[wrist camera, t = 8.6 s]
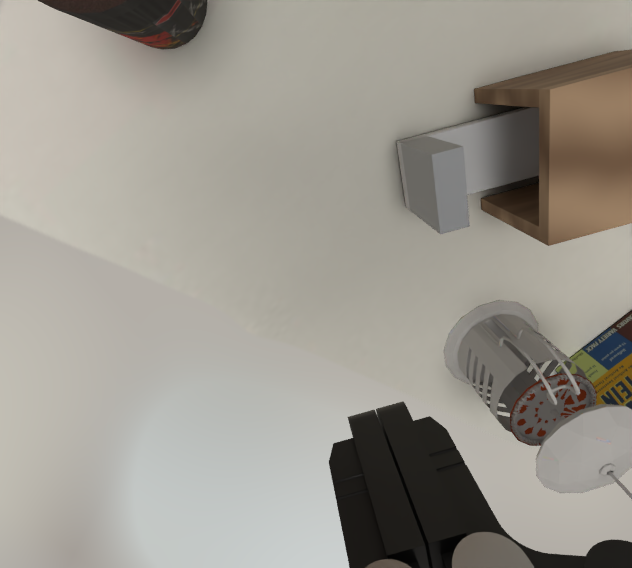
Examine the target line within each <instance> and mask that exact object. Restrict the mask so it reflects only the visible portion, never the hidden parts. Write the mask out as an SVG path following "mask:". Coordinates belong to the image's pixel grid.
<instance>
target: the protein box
mask: <svg viewBox="0 0 632 568" xmlns="http://www.w3.org/2000/svg"><path fill="white" fill-rule="evenodd" d="M570 359H571V360H572V361H573V362H574V363H575V364H576V365H578V366H579V367H580V368H581V369H582V370H583V371H584V373H585V375H586V377H587V379H588V380H590V381H591V382H592V384H593V386H594V388H595V390H596V391H597V398H596V405H599V404H610V405H622V406H626V407H628V408H630V409H632V311H631V312H629V313H628V314H627V315H626V316H624V317H623V318H622V319H621V320H619V321H618V322H616V323H615V324H614V325H613V326H611V327H610V328H609V329H607V330H606V331H605V332H603V333H602V334H601V335H600V336H598V337H597V338H596V339H594V340H593V341H592V342H590V343H589V344H588V345H587V346H585V347H584V348H583V349H581V350H580V351H579V352H577V353H576V354H575V355H574V356H572V357H571V358H570ZM566 362H567V361H566ZM566 362H565V363H566ZM565 363H564V365H565ZM574 363H572V362H571V364H572V367H571V368H570V370H569V372H570V373H571V374H575V373H576V372H577V369H576V366H575V364H574ZM561 369H562V366H559V367H558V368H557V369H556V372H557V373H558V372H559V371H560V370H561Z"/></svg>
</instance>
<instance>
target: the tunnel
mask: <svg viewBox="0 0 632 568" xmlns="http://www.w3.org/2000/svg"><path fill="white" fill-rule="evenodd" d="M474 95H475V103H481V104H495V105H509V106H523V107H536V108H539V183H536V184H532V185H528V186H525V187H521V188H517V189H514V190H510V191H506V192H503V193H499V194H495V195H492V196H488V197H484V198H481V208H482V210H483V211H485V212H487V213H488V214H490V215H492V216H494V217H496V218H498V219H500V220H501V221H503V222H505V223H507V224H509V225H511V226H513V227H514V228H516V229H518V230H520V231H522V232H524V233H526V234H527V235H529V236H531V237H533V238H535V239H537V240H539V241H541V242H542V243H544V244H546V245H548V246H549V245H553V244H557V243H560V242H564V241H568V240H571V239H575V238H579V237H582V236H586V235H589V234H593V233H597V232H600V231H604V230H608V229H611V228H615V227H619V226H622V225H626V224H629V223H632V50H624V51H614V52H611V53H607V54H603V55H599V56H596V57H592V58H588V59H584V60H581V61H577V62H573V63H569V64H566V65H562V66H558V67H554V68H551V69H547V70H543V71H539V72H535V73H532V74H528V75H524V76H520V77H517V78H513V79H509V80H505V81H502V82H498V83H494V84H490V85H487V86H483V87H479V88H475V89H474Z"/></svg>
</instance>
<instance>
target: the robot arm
mask: <svg viewBox="0 0 632 568" xmlns="http://www.w3.org/2000/svg"><path fill="white" fill-rule="evenodd" d="M376 411H377V415H376V412H375V410H371V411H368V412H364V413H361V414H357V415H354V416H350V417H348V420H349V424H350V428H351V431H352V435H353V438H351V439H348V440H344V441H341V442H337V443H334V444H333V448H332V452H331V456H330V460H329V465H330V470H331V475H332V480H333V485H334V491H335V495H336V500H337V506H338V511H339V516H340V521H341V526H342V531H343V536H344V541H345V546H346V551H347V556H348V561H349V567H350V568H632V542H628V541H623V540H606V541H602V542H600V543H597V544H596V545H594V546H593V547H592V548H591V549H590V550H589V552H588V553H587V555H586V556H573V555H559V554H548V553H542V552H538V551H535V550H532V549H530V548H527V547H525V546H523V545H522V544H520V543H518V542H517V541H515V540H514V539H513V538H512V537H510V536H509V535H508V534H507V533H506V532H505V531H504V529H503V528H502V527H501V525H500V524H499V523H498V521H497V519H496V517H495V515H494V514H493V512H492V510H491V508H490V507H489V505H488V503H487V501H486V499H485V498H484V496H483V494H482V492H481V491H480V489H479V487H478V485H477V483H476V482H475V480H474V478H473V476H472V474H471V473H470V471H469V469H468V467H467V465H465V463H464V460H463V458H462V457H461V455H460V453H459V451H458V450H457V449H456V446H455V444H454V442H453V440H452V439H451V437H450V435H449V433H448V431H447V430H446V429H445V428H444V427H443V426H442V425H440V424H439V423H438V422H436V421H435V420H434V419H432V418H431V417H426V418H422V419H419V420H415V421H413V420H412V417H411V415H410V413H409V411H408V409H407V407H406V405H405V403H404V402H400V403H396V404H392V405H389V406H386V407H382V408H378V409H376ZM377 416H378V417H377Z"/></svg>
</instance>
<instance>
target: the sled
mask: <svg viewBox="0 0 632 568" xmlns="http://www.w3.org/2000/svg"><path fill="white" fill-rule="evenodd" d="M397 148H398V155H399V162H400V169H401V176H402V183H403V190H404V197H405V204H406V208H408V209H409V210H410V211H412V212H413V213H414V214H415V215H417V216H418V217H419V218H420V219H422V220H423V221H424V222H426V223H427V224H428V225H429V226H431V227H432V228H433V229H434V230H436V231H437V232H438V233H439V234H443V233H447V232H450V231H454V230H458V229H461V228H465V227H469V213H468V200H467V195H469V194H472V193H476V192H480V191H483V190H487V189H491V188H494V187H498V186H502V185H505V184H509V183H513V182H517V181H520V180H524V179H528V178H531V177H535V176H539V108H536V107H523V108H520V109H516V110H512V111H509V112H505V113H501V114H497V115H494V116H490V117H486V118H482V119H479V120H475V121H471V122H467V123H464V124H460V125H456V126H453V127H449V128H445V129H441V130H438V131H434V132H430V133H426V134H423V135H419V136H415V137H411V138H408V139H404V140H400V141H397Z"/></svg>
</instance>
